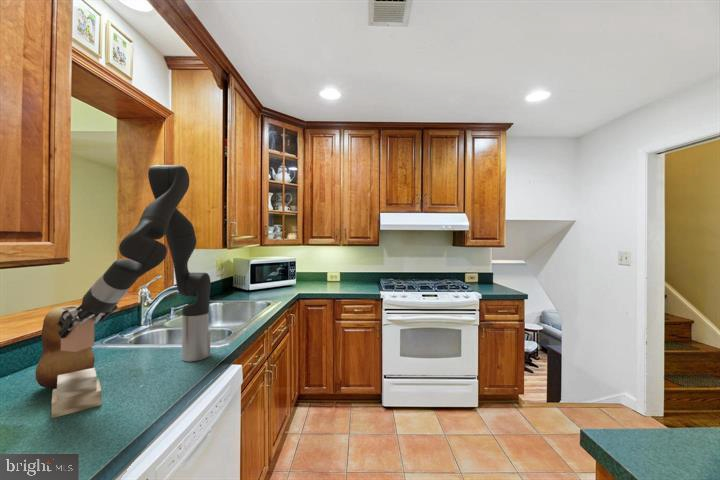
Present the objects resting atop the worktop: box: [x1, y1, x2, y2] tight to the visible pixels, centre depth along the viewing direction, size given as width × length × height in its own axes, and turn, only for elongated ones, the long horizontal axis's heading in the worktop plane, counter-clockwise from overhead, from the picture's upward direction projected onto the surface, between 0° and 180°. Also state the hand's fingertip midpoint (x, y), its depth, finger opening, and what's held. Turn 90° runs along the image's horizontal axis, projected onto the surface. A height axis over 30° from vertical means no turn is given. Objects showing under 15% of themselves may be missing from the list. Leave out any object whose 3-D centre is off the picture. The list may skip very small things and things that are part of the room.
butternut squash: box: [35, 304, 96, 390], centre depth 100 cm, size 14×13×25 cm
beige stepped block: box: [51, 367, 102, 419], centre depth 89 cm, size 10×10×8 cm
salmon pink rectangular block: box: [61, 316, 95, 352], centre depth 89 cm, size 5×5×9 cm
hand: (72, 332), depth 89 cm, fingers closed on salmon pink rectangular block, 5 cm apart
